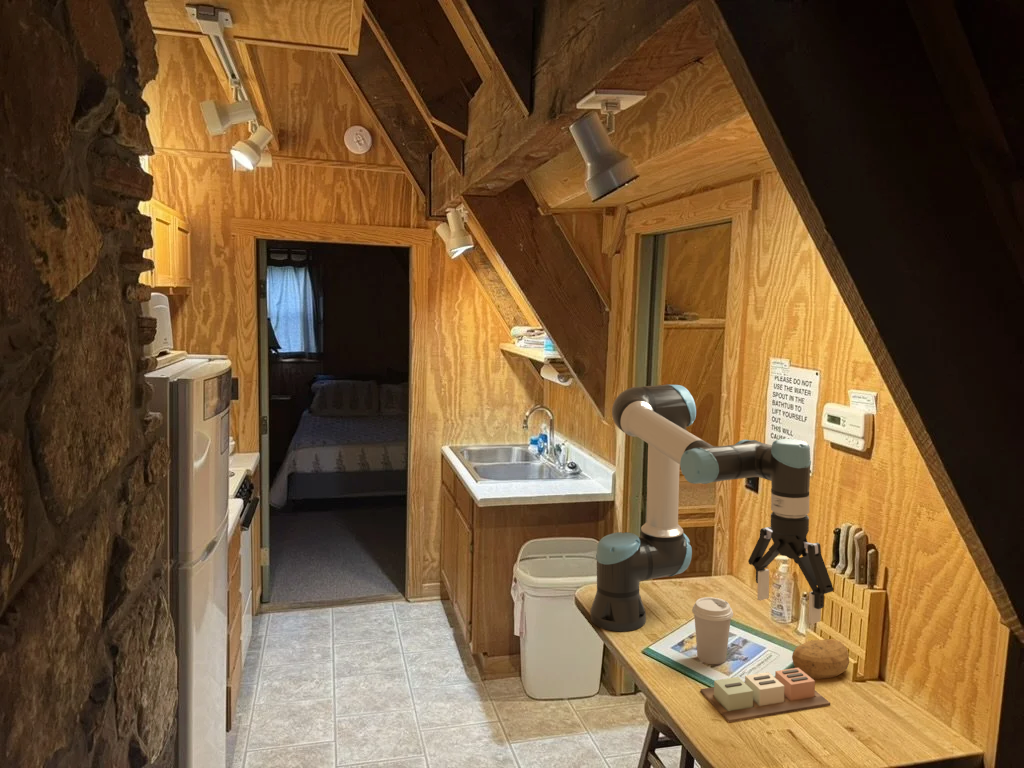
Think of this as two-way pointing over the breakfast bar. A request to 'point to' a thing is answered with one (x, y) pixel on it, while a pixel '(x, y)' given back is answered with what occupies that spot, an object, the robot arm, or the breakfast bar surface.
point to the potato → (821, 658)
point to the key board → (765, 706)
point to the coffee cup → (712, 629)
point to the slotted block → (733, 694)
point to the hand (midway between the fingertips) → (787, 610)
